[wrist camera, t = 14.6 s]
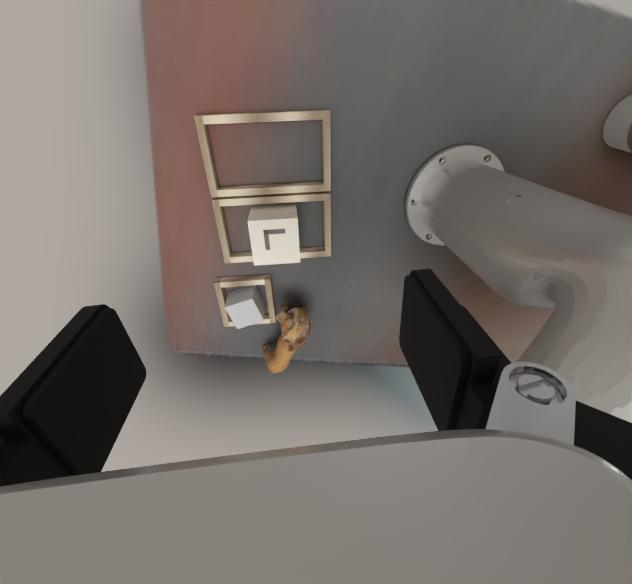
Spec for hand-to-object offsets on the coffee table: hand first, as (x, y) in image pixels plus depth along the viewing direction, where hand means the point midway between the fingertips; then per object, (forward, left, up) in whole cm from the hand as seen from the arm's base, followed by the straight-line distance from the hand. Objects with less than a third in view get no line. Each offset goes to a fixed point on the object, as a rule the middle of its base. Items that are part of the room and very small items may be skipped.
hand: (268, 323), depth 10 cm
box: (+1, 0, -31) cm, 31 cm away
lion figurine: (+1, +24, -31) cm, 39 cm away
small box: (+6, +19, -31) cm, 37 cm away
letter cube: (+1, +8, -31) cm, 32 cm away
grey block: (+6, +19, -31) cm, 37 cm away
